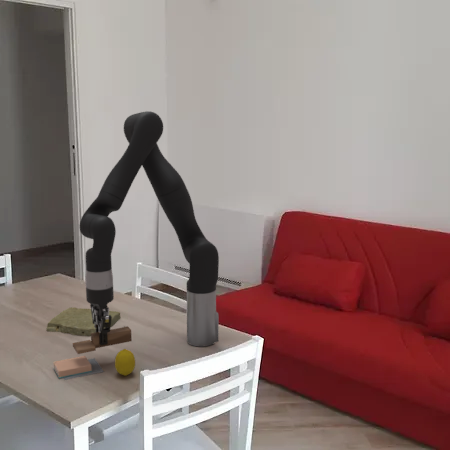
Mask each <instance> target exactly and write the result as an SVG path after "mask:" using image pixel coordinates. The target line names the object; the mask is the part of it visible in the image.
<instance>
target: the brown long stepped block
mask: <svg viewBox="0 0 450 450" xmlns="http://www.w3.org/2000/svg"><path fill="white" fill-rule="evenodd" d="M107 338H108V344H107V345H102V346H101V345H100V344H99V332H95V333H91V336H90V339H86V340H81V341H76V342H72V347H73V349H74V350H75V352H76V353H77V355H80V354H85V353H90V352H91V353H92V352H95V351H96V349H101V348H105V347H108V346H114V345H119V344H124V343H129V342H132V329H131V328H130V327H129V326H128V325H127V326H124V327H118V328H112V329H111V328H110V332H107Z"/></svg>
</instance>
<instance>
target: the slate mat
mask: <svg viewBox="0 0 450 450" xmlns="http://www.w3.org/2000/svg"><path fill="white" fill-rule="evenodd" d="M87 359H88V361H89V362H90V364H91V368H92V372H88V373H83V374H78V375H73V376H69V377H64V378H63V380H64V381H67V380H72V379H76V378H81V377H85V376H90V375H95V374H99V373H104V372H105V371H104V369H103V368H102V366H101V365H100V364H99V362H98V361H97V359H96V358H95V357H93V358H87Z"/></svg>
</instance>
